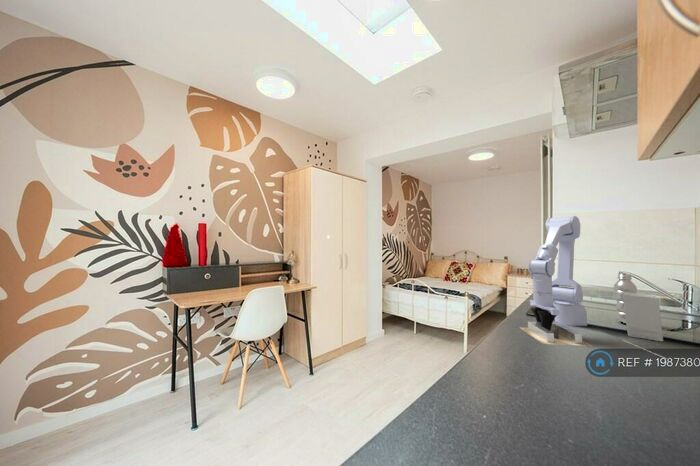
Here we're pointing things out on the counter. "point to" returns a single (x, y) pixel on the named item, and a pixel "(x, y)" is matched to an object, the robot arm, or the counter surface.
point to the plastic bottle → (622, 287)
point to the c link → (549, 336)
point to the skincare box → (643, 316)
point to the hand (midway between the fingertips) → (544, 329)
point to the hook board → (555, 338)
